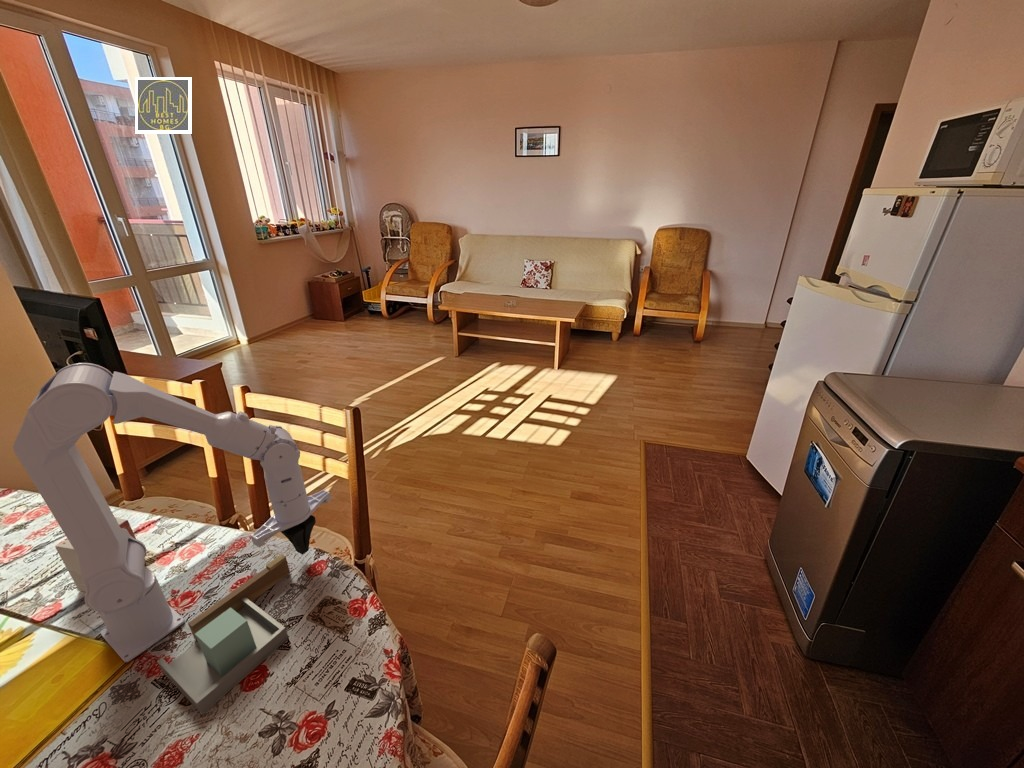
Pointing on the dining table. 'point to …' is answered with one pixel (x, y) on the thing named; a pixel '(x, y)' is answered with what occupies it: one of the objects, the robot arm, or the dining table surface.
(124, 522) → the small box
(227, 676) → the grey open tray
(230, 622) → the block
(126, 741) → the dining table surface
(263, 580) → the long wooden plank
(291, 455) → the robot arm
